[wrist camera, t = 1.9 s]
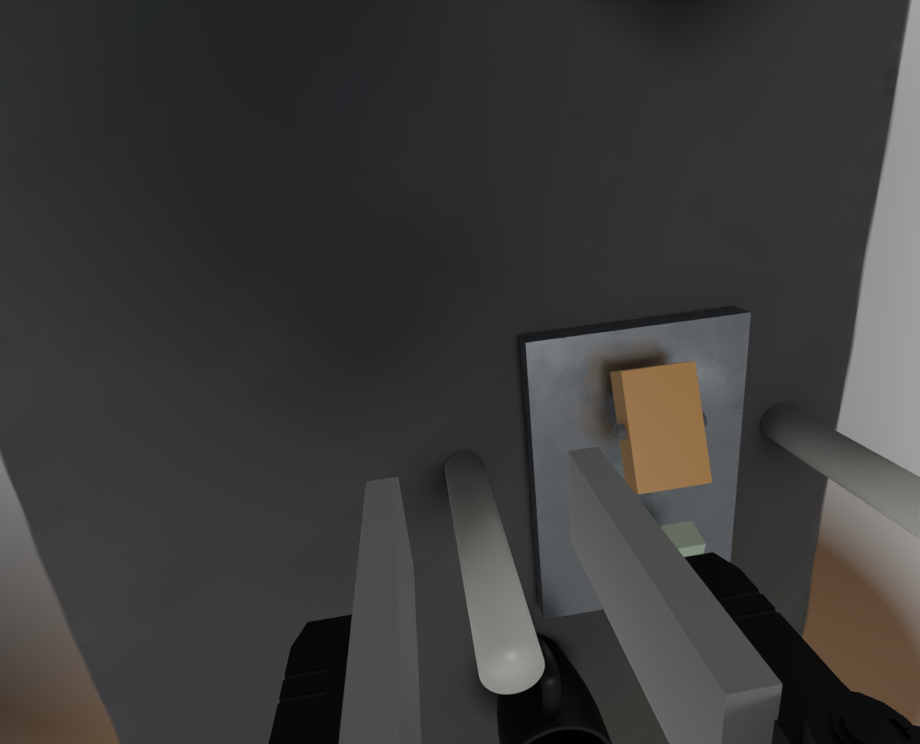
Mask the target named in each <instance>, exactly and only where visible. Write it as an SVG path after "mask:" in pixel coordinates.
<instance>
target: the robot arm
mask: <svg viewBox="0 0 920 744" xmlns="http://www.w3.org/2000/svg"><path fill="white" fill-rule="evenodd" d="M568 470H569V494H570V518H571V542H572V546H573V548H574V550H575V552H576V554H577V556H578V558H579V560H580V562H581V564H582V566H583V568H584V570H585V572H586V574H587V576H588V578H589V581H590V583H591V585H592V587H593V589H594V591H595V593H596V595H597V597H598V599H599V601H600V603H601V605H602V607H603V609H604V611H605V613H606V615H607V617H608V619H609V621H610V623H611V625H612V627H613V630H614V632H615V634H616V636H617V638H618V640H619V642H620V644H621V646H622V648H623V650H624V652H625V654H626V656H627V658H628V660H629V662H630V664H631V666H632V668H633V670H634V672H635V674H636V676H637V678H638V681H639V683H640V685H641V687H642V689H643V691H644V693H645V695H646V697H647V699H648V701H649V703H650V705H651V707H652V709H653V711H654V713H655V715H656V717H657V719H658V721H659V723H660V725H661V727H662V730H663V732H664V734H665V736H666V738H667V740H668V742H669V744H920V727H919V726H914V725H912V724H911V723H910V722H909V721H908V720H907V719H906V718H905V717H904V716H902V715H901V714H899V713H898V712H896V711H895V710H893V709H892V708H891V707H889V706H888V705H886V704H885V703H883V702H881V701H878V700H876V699H874V698H871V697H869V696H866V695H864V694H862V693H859V692H853V691H850V690H849V689H848V688H847V687H846V686H845V685H844V684H843V683H842V682H841V681H840V680H839V679H838V678H837V676H836V675H835V674H834V673H833V672H832V671H831V670H830V669H829V667H828V666H827V665H826V664H825V663H824V662H823V661H822V660H821V659H820V658H819V656H818V655H817V654H816V653H815V652H814V651H813V650H812V649H811V647H810V646H809V645H808V644H807V643H806V642H805V641H804V640H803V638H802V637H801V636H800V635H799V634H798V633H797V632H796V631H795V630H794V628H793V627H792V626H791V625H790V624H789V623H788V622H787V621H786V620H785V618H784V617H783V616H782V615H781V614H780V613H777V612H776V611H775V607H774V606H773V605H772V604H771V603H770V602H769V601H768V600H767V598H766V597H765V596H764V595H763V594H760V593H759V590H758V588H757V587H756V586H755V585H754V584H753V583H752V582H751V581H750V580H749V578H748V577H747V576H746V575H745V574H744V573H743V572H742V571H741V570H740V568H738V567H736V566H735V565H733V564H731V563H730V562H728V561H727V560H725V559H723V558H722V557H720V556H718V555H717V554H715V553H714V552H711V553H705V554H699V555H693V556H687V557H683V555H682V554H681V553H680V551H679V550H678V549H677V548H676V546H675V545H674V544H673V542H672V541H671V540H670V538H669V537H668V536H667V535H666V533H665V532H664V531H663V529H662V528H661V527H660V526H659V524H658V523H657V522H656V520H655V519H654V518H653V517H652V515H651V514H650V513H649V511H648V510H647V509H646V508H645V506H644V505H643V504H642V502H641V501H640V500H639V499H638V497H637V496H636V495H635V493H634V492H633V491H632V490H631V488H630V487H629V486H628V484H627V483H626V482H625V481H624V479H623V478H622V477H621V475H620V474H619V473H618V472H617V470H616V469H615V468H614V466H613V465H612V464H611V463H610V461H609V460H608V459H607V457H606V456H605V455H604V454H603V452H602V451H601V450H600V448H599V447H591V448H585V449H578V450H572V451H568ZM279 699H280V702H279V704H278V706H277V710H276V714H275V719H274V723H273V727H272V732H271V736H270V740H269V744H421V725H420V702H419V679H418V656H417V633H416V611H415V588H414V568H413V562H412V557H411V551H410V545H409V539H408V533H407V527H406V521H405V515H404V509H403V503H402V497H401V491H400V485H399V479H398V477H393V478H387V479H380V480H373V481H367V482H366V488H365V497H364V507H363V516H362V526H361V536H360V545H359V555H358V564H357V574H356V583H355V593H354V602H353V612H352V615H347V616H341V617H335V618H329V619H323V620H317V621H312V622H308V623H307V624H306V626H305V627H304V629H303V630H302V632H301V633H300V635H299V636H298V638H297V639H296V640H295V642H294V643H293V645H292V646H291V649H290V654H289V658H288V662H287V667H286V671H285V680H283V684H282V688H281V693H280V697H279Z"/></svg>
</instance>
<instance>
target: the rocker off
mask: <svg viewBox="0 0 920 744" xmlns="http://www.w3.org/2000/svg"><path fill="white" fill-rule="evenodd" d="M610 376H611V383H612V390H613V397H614V404H615V411H616V419H617V425H614V428H613V431H614V436H615V438H616V439H617V440H620V447H621V454H622V462H623V469H624V476H625V482H626V483H627V484H628V486H629V487H630V488H631V490H632V491H633V492H634V493H636V494H645V493H651V492H657V491H664V490H670V489H676V488H683V487H689V486H695V485H701V484H708V483H712V478H711V470H710V463H709V456H708V449H707V442H706V435H705V428H704V427H706V425H707V418H706V416H705V414H704V413H703V412H702V406H701V399H700V392H699V385H698V378H697V370H696V363H695V361H687V362H676V363H669V364H662V365H655V366H648V367H641V368H634V369H627V370H620V371H613V372H610Z"/></svg>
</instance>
